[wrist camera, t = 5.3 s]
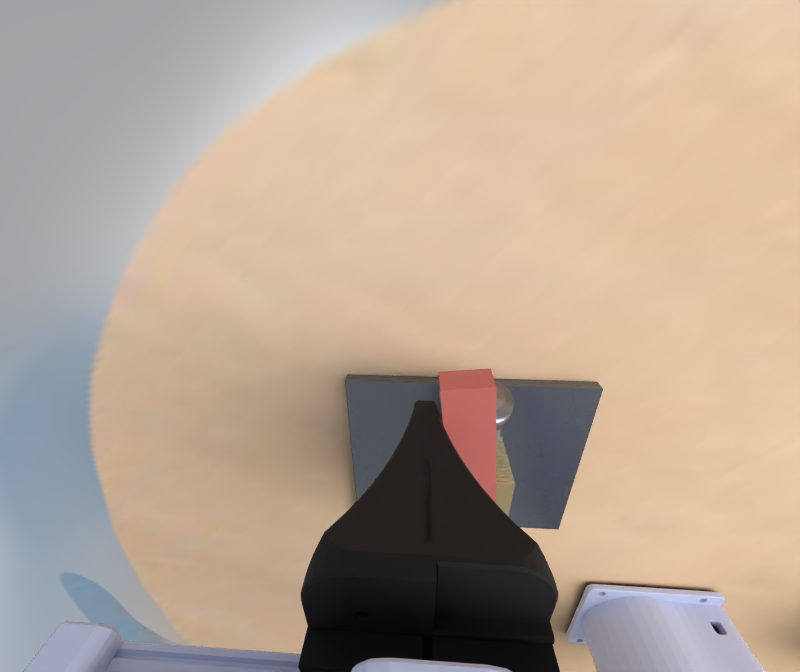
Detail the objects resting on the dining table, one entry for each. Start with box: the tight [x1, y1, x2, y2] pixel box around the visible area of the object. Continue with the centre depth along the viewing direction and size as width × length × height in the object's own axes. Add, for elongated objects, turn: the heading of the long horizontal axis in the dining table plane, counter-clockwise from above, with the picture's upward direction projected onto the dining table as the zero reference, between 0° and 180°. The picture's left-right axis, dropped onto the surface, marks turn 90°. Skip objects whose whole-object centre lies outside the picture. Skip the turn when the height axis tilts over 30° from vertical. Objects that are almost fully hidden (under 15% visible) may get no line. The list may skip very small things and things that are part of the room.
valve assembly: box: [345, 375, 603, 529], centre depth 18 cm, size 12×13×4 cm
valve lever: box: [439, 369, 496, 503], centre depth 14 cm, size 10×3×1 cm, turn 7°
